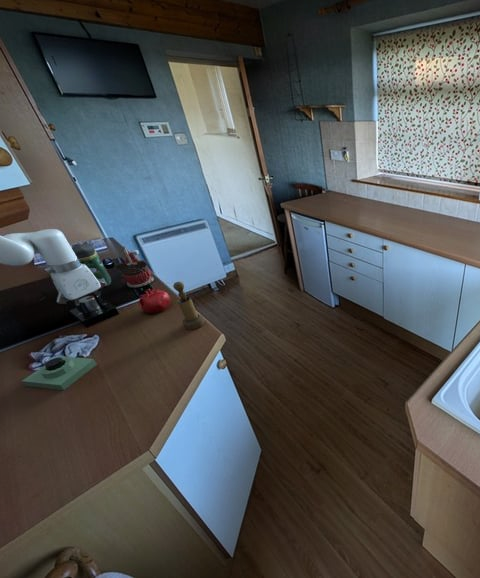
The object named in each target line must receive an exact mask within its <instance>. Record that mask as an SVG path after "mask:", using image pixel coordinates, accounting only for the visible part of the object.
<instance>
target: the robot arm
mask: <svg viewBox="0 0 480 578" xmlns="http://www.w3.org/2000/svg"><path fill="white" fill-rule="evenodd" d="M35 254H39V255H40V256H41V257H42V259H43V260H44V262H45V264H46V267H45V268H44V269H43V271H44V272H45V273H46V274H47V273H50V277H51V280H52V282H53V285H54V286H55V288H56V291H57V292H58V295H57V298H56V303H57V304H59V305H71V306H74V307H75V308H77V310H78V311H79V312H82V313H85V314H86V313H88V312H87V310H86V309H85V307H84V306H83V304H81V303H80V302H79V300H80V299H81V298H83V297H85V296H87V295H89V294H92V296H94V297H95V299H96V300H97V302H98V304H99V305H100V306H103V303H102V302H103V300H102V299H103V298H102V297H101V295H102V294H101V293H102V291H103V289H104V288H105V287H104V286H105V283H104V282H101V281H99V280H97V278H96V277H95V276H94V274H93V273H92V272H91V271H90V269H89V268H88V267H87V266H86V265H85V264H81V263H80V261H79V260H78V258H77V256H76V255H75V253H74V251H73V250H72V246H71V244H70V243H69V241H68V240H67V238H66V236H65V234H64V233H63V232H62V231H61V230H60V229H56V228H47V229H42V230H38V231H33V232H14V233H8V234H5V235H3V236H2V235H0V265H6V266H11V267H20V266H25V265H27V264H29V263H30V262H32V261H33V259H34V257H35ZM103 287H104V288H103Z"/></svg>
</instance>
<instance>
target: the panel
mask: <svg viewBox="0 0 480 578" xmlns="http://www.w3.org/2000/svg"><path fill="white" fill-rule="evenodd" d="M101 299H102V300H103V302H102V303H103V306H100V308H99V309H98V310H96V311H93V312H88V313H86V314H85V313H82V312H79V311H78V310H77V308H76V307H75V308H73V309H70V310H69V312H70V314H71V316H72V317H73V318H74V319H76V320H77V321H78V320H79V321H80V322H81V323H80V322H79V321H78V322H79V323H80V324H81V325H83V326H84V327H85V328H86V329H88V328H90V327H92V326H94V325H96V324H99V323H101V322H104V321H106V320H108V319H111V318H113V317H116V316H118V315H120V311H118V309H117V307H116V306H114V305H113V304H111V303H109V301H107V300H105V299H104V298H101Z"/></svg>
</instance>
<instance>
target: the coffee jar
mask: <svg viewBox="0 0 480 578" xmlns="http://www.w3.org/2000/svg"><path fill="white" fill-rule="evenodd" d="M71 248H72V250H73V251H74V253H75V255H76V256H77V258H78V260H79V261H80V263H81V264H85V265H86V266H87V267H88V268H89V269H90V271H91V272H92V273H93V274H94V276H95V277H96V278H97V280H99V281H101V282H104V283H105V286H104V287H103V288H102V289H104V288H106V287H108V286H111V283H112V277H111V275H110V274H109V272H108V271H107V269H106V267H105V265H104V263H103V262H102V260H101V258H100V256H99V254H98V252H97V251H96V249H95V247H94V246H93V245H92V244H90V243H86V242H85V243H79V244H75V245H73V246H71Z"/></svg>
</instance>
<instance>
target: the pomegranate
mask: <svg viewBox="0 0 480 578" xmlns="http://www.w3.org/2000/svg"><path fill="white" fill-rule="evenodd" d="M144 292H145V294H140V295H139V300H138V306H139V307H140V309H141V310H142V311H144V312H146V313H148V314H157V313H160V312H161V313H162V312H163V311H166V309H167V308H168V307H169V306H170V304H171V295H169V293H167V292H166V291H164V290H161V289H160V288H156V289H154V288H152V289H150V288H148V289H146V290H144Z"/></svg>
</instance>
